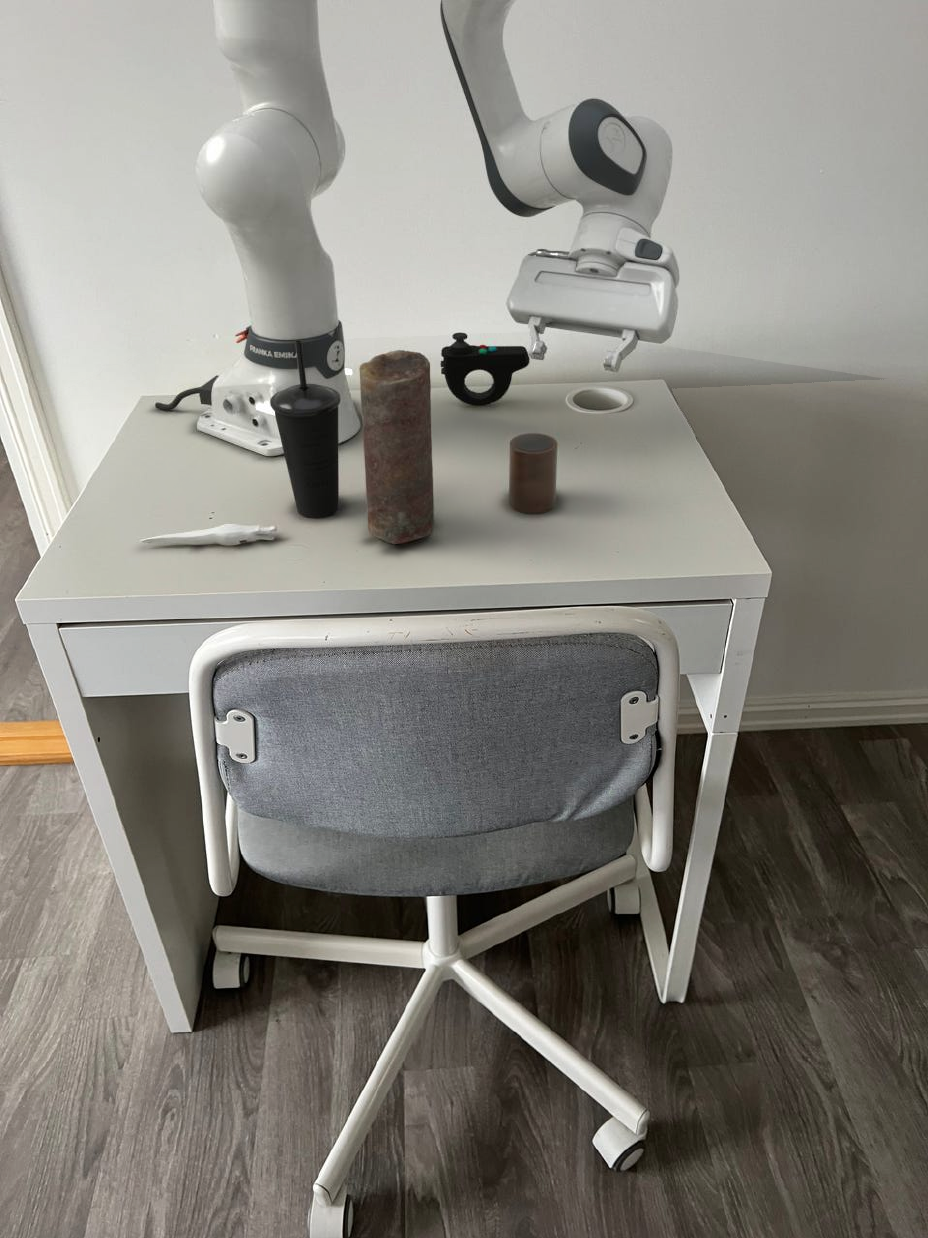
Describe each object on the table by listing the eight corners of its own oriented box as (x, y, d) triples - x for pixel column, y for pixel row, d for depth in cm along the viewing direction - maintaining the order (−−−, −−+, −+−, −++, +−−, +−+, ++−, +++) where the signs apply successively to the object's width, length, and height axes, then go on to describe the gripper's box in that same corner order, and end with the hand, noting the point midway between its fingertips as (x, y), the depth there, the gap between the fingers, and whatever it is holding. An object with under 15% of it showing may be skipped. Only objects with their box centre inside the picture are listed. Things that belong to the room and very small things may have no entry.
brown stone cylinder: (449, 536, 109) (444, 362, 97) (396, 559, 105) (384, 381, 93) (407, 511, 113) (398, 342, 102) (355, 532, 110) (339, 359, 98)
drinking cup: (339, 527, 111) (321, 355, 99) (275, 521, 112) (250, 351, 101) (359, 495, 117) (343, 330, 105) (298, 490, 118) (276, 327, 107)
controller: (442, 398, 141) (440, 329, 135) (528, 397, 141) (529, 328, 135) (441, 410, 137) (439, 340, 132) (529, 409, 137) (530, 338, 131)
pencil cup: (501, 508, 114) (501, 447, 109) (520, 488, 118) (521, 429, 113) (544, 517, 112) (546, 456, 107) (562, 497, 116) (564, 437, 111)
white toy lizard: (279, 532, 110) (277, 518, 109) (277, 544, 108) (275, 530, 107) (143, 541, 109) (140, 527, 108) (139, 554, 107) (135, 539, 106)
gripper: (519, 232, 117) (484, 338, 116) (686, 250, 110) (650, 363, 108) (534, 261, 123) (500, 362, 122) (692, 280, 115) (659, 388, 114)
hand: (572, 363), depth 115 cm, fingers open, 8 cm apart
